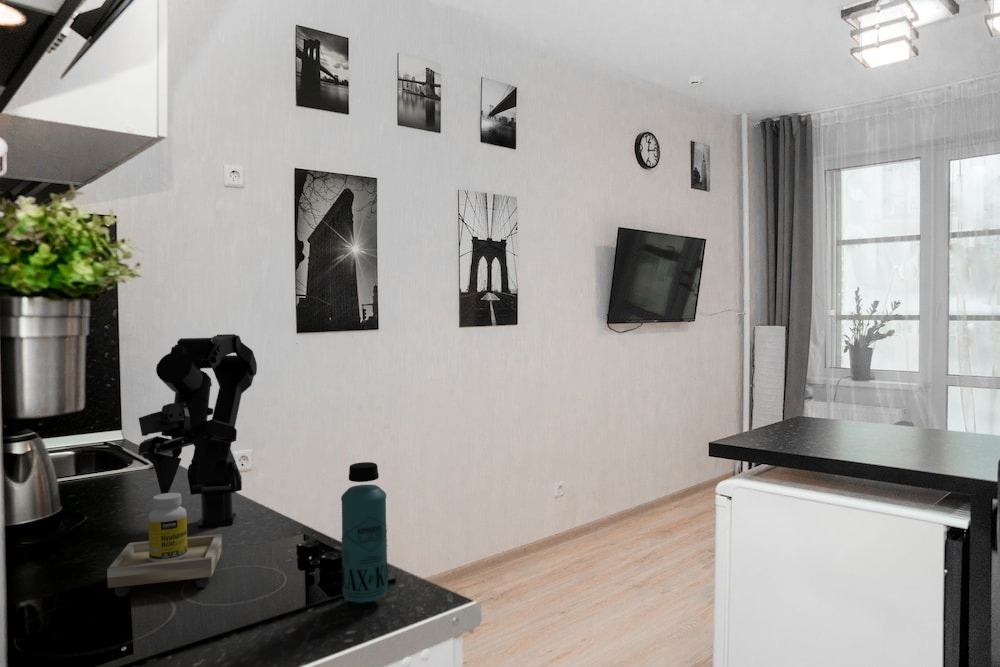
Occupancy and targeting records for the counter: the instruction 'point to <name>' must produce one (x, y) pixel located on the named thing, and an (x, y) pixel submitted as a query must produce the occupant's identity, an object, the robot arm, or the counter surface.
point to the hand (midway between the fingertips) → (182, 489)
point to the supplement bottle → (167, 528)
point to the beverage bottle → (364, 537)
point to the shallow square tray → (165, 564)
